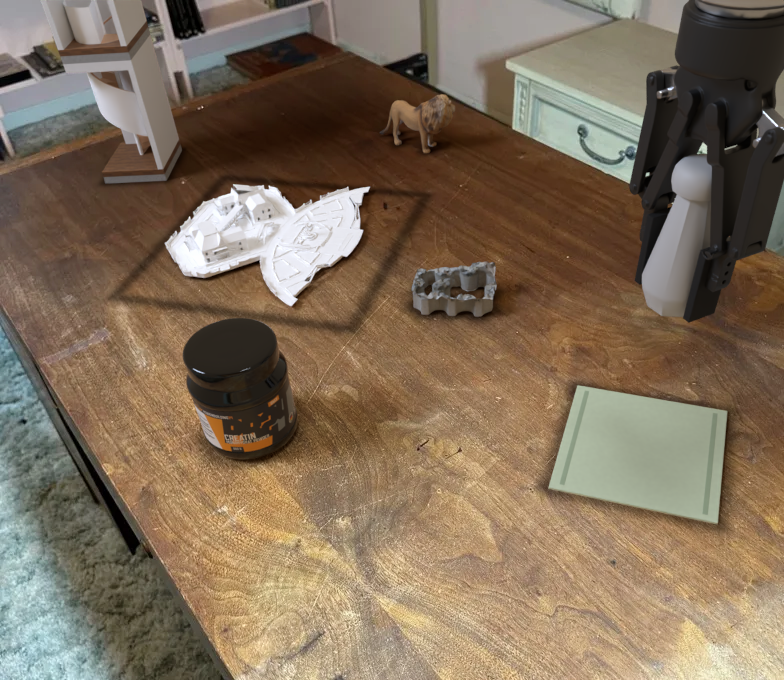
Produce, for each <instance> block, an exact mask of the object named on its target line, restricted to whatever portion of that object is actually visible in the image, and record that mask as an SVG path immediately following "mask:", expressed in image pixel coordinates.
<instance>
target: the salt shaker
mask: <svg viewBox="0 0 784 680" xmlns="http://www.w3.org/2000/svg"><path fill="white" fill-rule="evenodd" d="M671 183H672V190H673V191H674V192H675V193H676V194H677V196H676V198H675V200H674V203H672V205H671V206H670V207H671V210H670V212H669V214H668V216H667V219H666V221H665V223H664V226H663V228H662V230H661V232H660V235H659V237H658V239H657V241H656V244H655V246H654V248H653V251H652V253H651V255H650V257H649V260H648V262H647V264H646V267H645V269H644V271H643V273H642V284H641V288H642V292H643V296H644V300H645V304H646V306H647V307H648V308H649V309H651V310H652V311H653V312H655V313H656V314H658V315H660V317H672V318H683V316H684V312H685V308H686V304H687V300H688V296H689V292H690V288H691V284H692V281H693V277H694V273H695V269H696V265H697V261H698V257H699V253H700V250H702V249H705V248H708V247H710V221H711V183H712V166H711V165H709V164H708V163H707V153H697V154H692V155H689V156H686V157H684V158H683V159H681V160H680V161H679V162H678V163H677V164H676V165H675V168H674V170H673V173H672V179H671Z"/></svg>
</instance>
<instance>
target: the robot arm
mask: <svg viewBox="0 0 784 680" xmlns="http://www.w3.org/2000/svg"><path fill="white" fill-rule="evenodd" d="M678 27H679V28H678V31H677V32H678V33H677V38H676V43H675V48H674V59H675V61H676V63H677V65H673V66H669V67H665V68H661V69H657V70H653V71H650V72H648V73H647V75H646V79H645V89H646V90H645V91H646V93H645V95H646V98H645V99H646V104H645V110H644V114H643V119H642V123H641V127H640V133H639V138H638V143H637V146H636V147H637V148H636V152H635V157H634V162H633V165H632V170H631V174H630V175H631V176H630V180H629V191H630V193H631V195H633V196H636V195H638V197H639V198H640V199H641V201H640V202H641V204H640V205H641V207H642V209H643V215H642V218H641V219H642V220H641V225H640V230H639V241H640V243H641V246H640V251H639V255H638V260H637V267H636V271H635V277H634V282H635V283H637V284H638V285H641V286H642V273H643V271H644V269H645V267H646V264H647V262H648V260H649V257H650V255H651V253H652V251H653V248H654V246H655V244H656V241H657V239H658V237H659V235H660V232H661V230H662V228H663V226H664V223H665V221H666V219H667V216H668V214H669V212H670V210H671V207H672V206H669V205H671V204H673V203H674V200H675V198H676V196H677V194H676V193H675V192H674V191H673V190H672V183H671V179H672V173H673V170H674V168H675V165H676V164H677V163H678V162H679V161H680V160H681V159H683V158H684V157H686V156H689V155H692V154H699V151H700V149H701V147H702V145H703V144H704V145H705V146H706V154H707V163H708V164H709V165H711V166H712V183H711V221H710V247H708V248H705V249H702V250H700V253H699V257H698V261H697V265H696V269H695V273H694V277H693V281H692V284H691V288H690V292H689V296H688V300H687V304H686V308H685V312H684V316H683V317H682V319H683V320H685V321H686V322H687V323H688V324H690V323H692V322H694V321H695V322H696V321H697V320H700V319H702V318H705V317H709V316H712V315H714V314H715V313H716V310H717V306H718V302H719V299H720V296H721V292H722V290H723V289H725V288H727V287H728V286H729V285H730V284H731V280H732V277H733V273H734V271H735V268H736V264H737V261H740V260H743V259H745V258H749V257H751V256H754V255H757V254H760V253H762V252H764V251H765V249H766V248H767V244H768V240H769V237H770V234H771V229H772V226H773V222H774V219H775V214H776V211H777V207H778V203H779V200H780V196H781V193H782V189H783V185H784V117H783V116H782V115H781V114H780V113H778V111H776V107H777V96H776V95H777V94H776V93H777V92H776V85H777V81H778V80H779V78H780V76H781V74H782V73H783V71H784V0H688V1H687V2H686V3H685V4H684V5H683V7H682V11H681V16H680V22H679V26H678ZM647 174H648V175H647Z"/></svg>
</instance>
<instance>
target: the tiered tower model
mask: <svg viewBox="0 0 784 680" xmlns="http://www.w3.org/2000/svg"><path fill="white" fill-rule="evenodd" d="M39 2H40V3H41V7H42V9H43V13H44V15H45V18H46V20H47V23H48V26H49V30H50V33H51V35H52V37H53V40H54V43H55V46H56V49H57V51H58V54H59V58H60V60H61V63H62V66H63V68H64V72H65V73H66V75H68V74H69V75H70V74H86V76H87V78H88V81H89V84H90V87H91V90H92V93H93V96H94V99H95V102H96V105H97V107H98V110H99V112H100V114H101V115H102V117H103V118H104V119H105V120H106V121H107V122H109V124H111V125H112V126H114V127H116V128H119V129H120V131H121V133H122V136H123V137H122V138H123V140H124V141H121V142H120V143H119V144H118V146H117V148H116V149H115V151H114V152H113V154H112V155H111V156H110V158H109V160H108V162H107V163H106V164H105V166H104V168H103V170H102V171H101V175H102V178H103V180H104V183H105V184H121V183H123V184H124V183H125V184H126V183H127V184H128V183H145V182H167V181H168V179H169V177H170V175H171V173H172V171H173V169H174V167H175V165H176V164H177V161H178V159H179V157H180V155H181V153H182V152H183V149H182V144H181V140H180V138H179V134H178V130H177V127H176V126H177V125H176V123H175V120H174V116H173V111H172V109H171V105H170V104H171V103H170V101H169V98H168V94H167V90H166V85H165V82H164V79H163V75H162V72H161V68H160V64H159V60H158V57H157V53H156V49H155V46H154V42H153V39H152V34H151V30H150V28H149V24H148V20H147V16H146V13H145V10H144V5H143V2H142V0H39Z"/></svg>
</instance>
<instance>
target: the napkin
mask: <svg viewBox="0 0 784 680" xmlns="http://www.w3.org/2000/svg"><path fill="white" fill-rule="evenodd" d="M574 392H575V393H574V396H573V400H572V403H571V406H570V410H569V413H568V417H567V420H566V424H565V427H564V431H563V435H562V439H561V442H560V446H559V449H558V452H557V456H556V459H555V463H554V467H553V470H552V474H551V477H550V480H549V483H548V490H552V491H557V492H561V493H566V494H571V495H574V496H575V495H576V496H579V497H580V496H581V497H585V498H589V499H595V500H598V501H603V502H608V503H614V504H618V505H623V506H626V507H627V506H628V507H632V508H637V509H641V510H646V511H650V512H655V513H661V514H666V515H669V516H674V517H680V518H685V519H689V520H693V521H699V522H704V523H708V524H713V525H718V523H719V515H720V503H721V501H720V500H721V491H722V480H723V479H722V478H723V468H724V457H725V444H726V433H727V432H726V431H727V421H728V410H724V409H718V408H713V407H707V406H701V405H696V404H689V403H683V402H678V401H672V400H665V399H660V398H654V397H648V396H642V395H636V394H631V393H625V392H619V391H613V390H608V389H602V388H597V387H596V388H595V387H591V386H584V385H579V384H577V385H576V389H575V391H574Z"/></svg>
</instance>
